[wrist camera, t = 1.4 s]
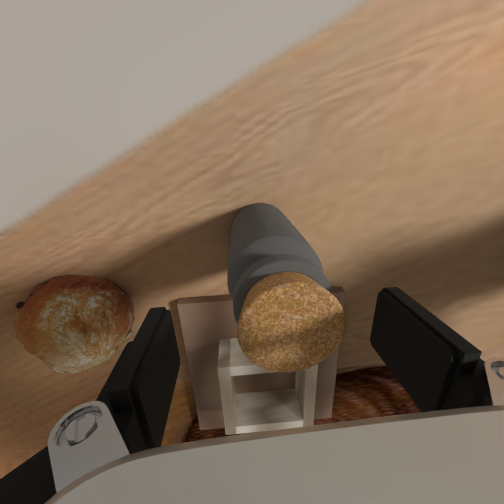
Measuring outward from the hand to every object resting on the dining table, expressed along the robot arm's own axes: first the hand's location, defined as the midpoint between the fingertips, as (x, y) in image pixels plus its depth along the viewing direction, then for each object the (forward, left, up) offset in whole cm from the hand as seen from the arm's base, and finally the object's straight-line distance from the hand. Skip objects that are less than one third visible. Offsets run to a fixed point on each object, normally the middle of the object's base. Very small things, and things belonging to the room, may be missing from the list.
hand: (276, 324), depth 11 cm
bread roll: (+19, +8, -15) cm, 25 cm away
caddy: (-1, +17, -14) cm, 22 cm away
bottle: (-1, 0, -15) cm, 15 cm away
